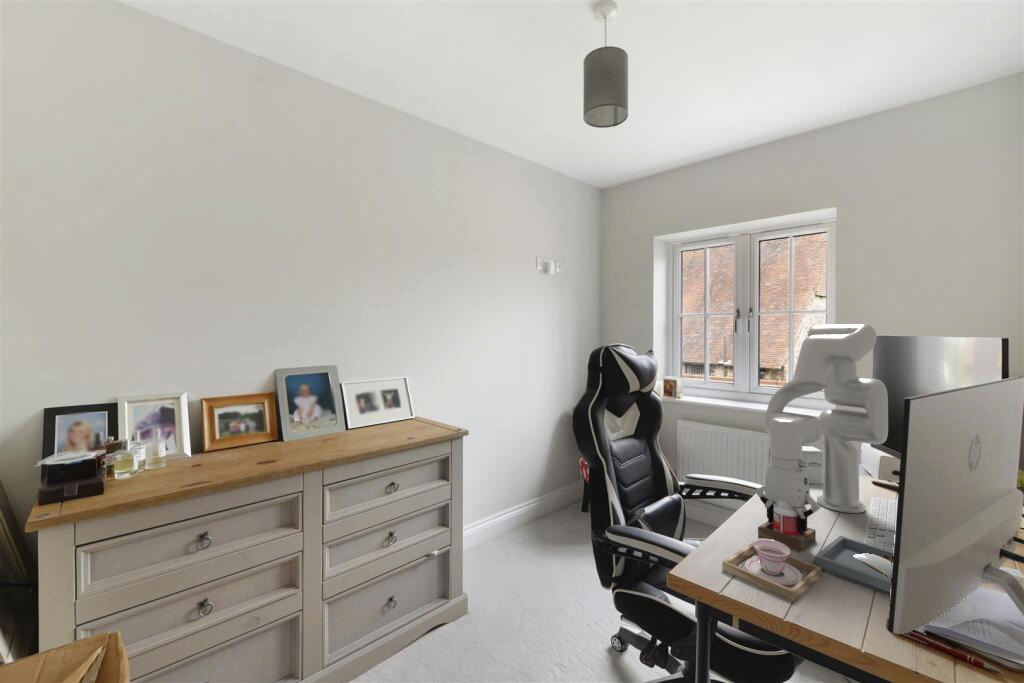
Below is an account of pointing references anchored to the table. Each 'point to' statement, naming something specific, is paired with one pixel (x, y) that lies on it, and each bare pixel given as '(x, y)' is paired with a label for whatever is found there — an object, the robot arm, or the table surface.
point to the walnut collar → (787, 537)
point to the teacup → (773, 562)
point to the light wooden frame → (767, 584)
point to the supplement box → (813, 464)
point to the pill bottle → (786, 519)
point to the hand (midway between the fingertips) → (786, 525)
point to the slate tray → (854, 563)
